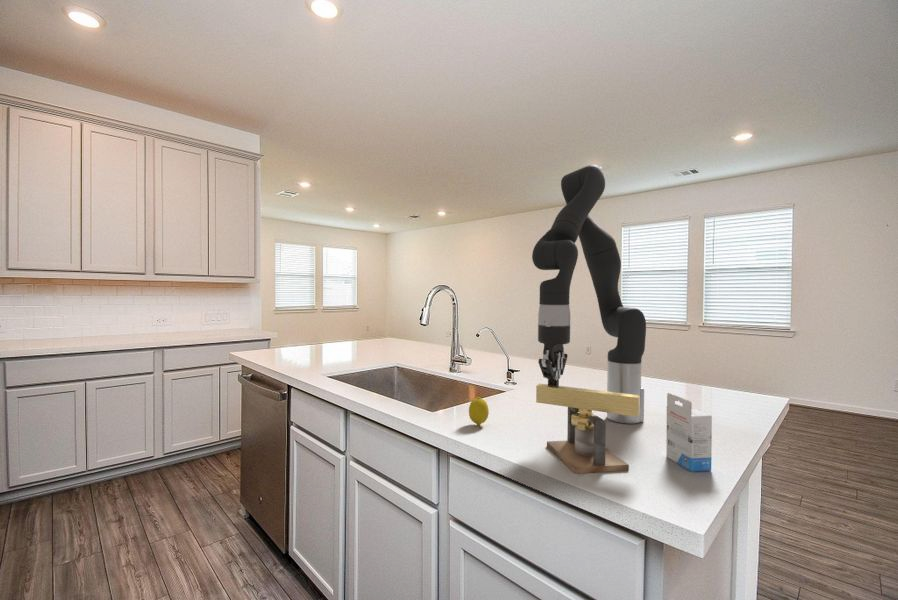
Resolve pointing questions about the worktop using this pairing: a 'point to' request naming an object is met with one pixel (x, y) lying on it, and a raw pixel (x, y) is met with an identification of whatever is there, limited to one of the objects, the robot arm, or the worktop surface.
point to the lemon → (478, 411)
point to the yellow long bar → (588, 402)
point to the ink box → (688, 435)
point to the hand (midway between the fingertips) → (553, 394)
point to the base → (585, 460)
